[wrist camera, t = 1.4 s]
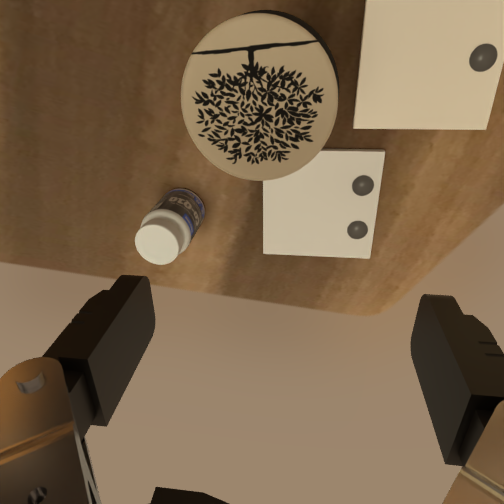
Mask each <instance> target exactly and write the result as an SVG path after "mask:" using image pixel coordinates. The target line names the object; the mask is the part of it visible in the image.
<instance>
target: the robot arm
mask: <svg viewBox="0 0 504 504" xmlns="http://www.w3.org/2000/svg"><path fill="white" fill-rule="evenodd" d="M154 329H155V313H154V306H153V300H152V294H151V287H150V282H149V279H148V277H146V276H134V275H121V276H120V277H119V278H118V279H117V280H116V282H115V283H114V284H113V286H112V287H111V288H110V290H102V291H101V292H99V293H98V294H96V295H95V296H93V297H92V298H90V299H89V300H88V301H87V302H86V303H85V305H84V306H83V307H82V308H81V310H80V311H79V313H78V314H77V315H76V316H75V317H74V318H73V319H72V322H71V323H69V324H68V326H67V327H66V328H65V329H64V330H63V332H62V333H61V334H60V335H59V337H58V338H57V339H56V340H55V341H54V343H53V344H52V345H51V347H50V348H49V349H48V350H47V351H46V353H45V354H44V355H43V356H42V357H39V358H33V359H29V360H26V361H24V362H21V363H19V364H17V365H16V366H14V367H12V368H11V369H10V370H8V371H7V372H6V373H5V374H4V375H3V376H2V377H1V378H0V504H102V503H101V500H100V496H99V491H98V487H97V483H96V479H95V475H94V471H93V467H92V462H91V458H90V454H89V450H88V446H87V442H86V439H85V434H86V433H87V431H88V429H89V427H90V425H97V426H107V425H108V423H109V421H110V419H111V417H112V415H113V413H114V411H115V409H116V407H117V405H118V403H119V401H120V399H121V397H122V395H123V393H124V391H125V389H126V387H127V386H128V384H129V382H130V380H131V378H132V376H133V374H134V371H135V370H136V368H137V366H138V364H139V362H140V360H141V358H142V356H143V354H144V352H145V350H146V348H147V346H148V344H149V342H150V340H151V338H152V336H153V333H154ZM411 356H412V360H413V363H414V366H415V369H416V373H417V376H418V379H419V382H420V385H421V389H422V391H423V395H424V398H425V401H426V404H427V407H428V411H429V414H430V417H431V420H432V423H433V427H434V430H435V433H436V436H437V439H438V443H439V445H440V449H441V452H442V455H443V458H444V462H445V464H449V465H458V466H463V467H462V468H461V470H460V472H459V473H458V475H457V477H456V479H455V481H454V483H453V484H452V487H451V488H450V490H449V492H448V494H447V496H446V498H445V499H444V501H443V503H442V504H504V354H503V352H502V350H501V348H500V347H499V346H498V345H497V342H496V340H495V338H494V337H493V335H492V333H491V332H490V330H489V329H488V327H486V326H485V325H484V324H483V323H481V322H480V321H479V320H478V319H477V318H475V317H474V316H473V315H464V314H463V313H462V311H461V309H460V307H459V305H458V303H457V302H456V300H455V298H454V297H453V296H446V295H445V296H444V295H430V294H424V295H423V296H422V297H421V299H420V303H419V307H418V311H417V315H416V320H415V324H414V328H413V332H412V337H411ZM150 504H229V503H226V502H224V501H222V500H219V499H217V498H214V497H212V496H210V495H208V494H205V493H202V492H194V491H186V490H177V489H169V488H162V487H161V488H160V487H156V488H155V491H154V494H153V497H152V500H151V503H150Z"/></svg>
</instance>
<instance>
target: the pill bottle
mask: <svg viewBox="0 0 504 504" xmlns="http://www.w3.org/2000/svg"><path fill="white" fill-rule="evenodd" d="M204 215H205V209H204V205H203V203H202V201H201V200H200V198H199V197H198V196H197V195H196V194H195V193H193V192H192V191H190V190H187V189H174V190H171V191H169V192H168V193H167V194H166V195H165V196H164V197H163V198H162V199H161V200H160V201H159V202H158V203H157V204H156V205H155V206H154V207H153V208H152V210H151V211H150V212H149V213H148V214H147V215H146V216H145V217H144V219H143V221H142V224H141V228H140V229H139V230H138V232H137V234H136V237H135V245H136V248H137V250H138V252H139V253H140V255H141V256H142V257H143V258H144V259H146V260H147V261H149V262H151V263H154V264H159V265H164V264H168V263H170V262H172V261H173V260H174V259H175V258H176V257H177V256H178V254H180V253H182V252H183V251H184V250H185V249H186V248H187V247H188V246H189V244H190V242H191V240H192V238H193V237H194V235H195V234H196V232H197V230H198V228H199V227H200V225H201V223H202V221H203V219H204Z"/></svg>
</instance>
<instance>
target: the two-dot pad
mask: <svg viewBox="0 0 504 504" xmlns="http://www.w3.org/2000/svg"><path fill="white" fill-rule="evenodd" d="M384 157H385V151H384V150H381V149H321V150H320V152H319V153H318V154H317V155H316V156H315V157H314V158H313V159H312V160H311V161H310V162H309V163H308V164H307V165H305V166H304V167H302V168H301V169H299V170H298V171H296V172H294V173H292V174H290V175H287V176H285V177H282V178H278V179H274V180H266V181H263V254H281V255H303V256H325V257H346V258H368V259H370V254H371V248H372V241H373V234H374V227H375V220H376V213H377V206H378V199H379V192H380V185H381V178H382V171H383V164H384Z"/></svg>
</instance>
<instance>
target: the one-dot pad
mask: <svg viewBox="0 0 504 504" xmlns="http://www.w3.org/2000/svg"><path fill="white" fill-rule="evenodd" d="M503 62H504V0H365V9H364V19H363V29H362V39H361V48H360V58H359V68H358V78H357V88H356V98H355V108H354V117H353V129H457V130H486V128H487V124H488V120H489V116H490V113H491V109H492V105H493V101H494V97H495V93H496V89H497V86H498V82H499V78H500V74H501V70H502V66H503Z"/></svg>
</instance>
